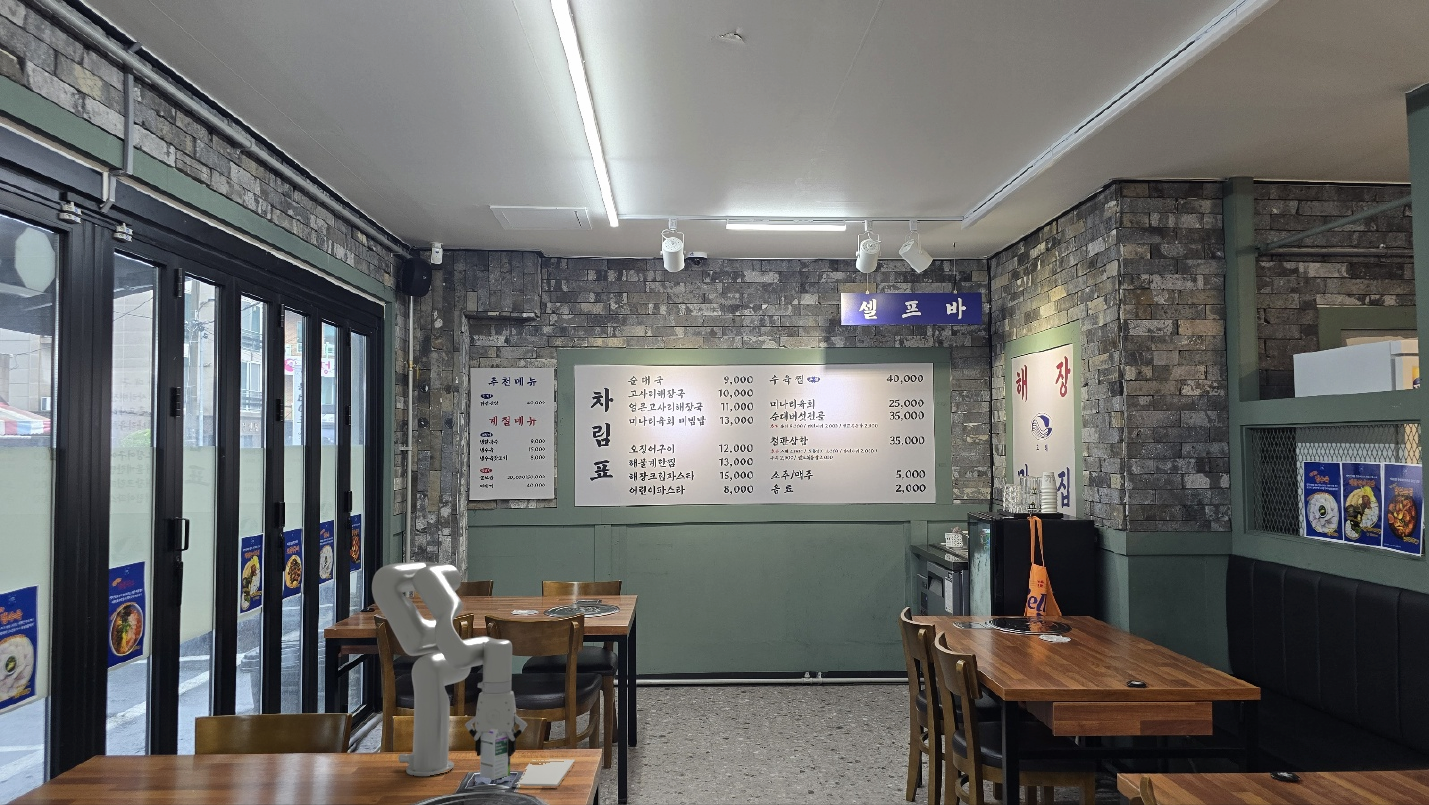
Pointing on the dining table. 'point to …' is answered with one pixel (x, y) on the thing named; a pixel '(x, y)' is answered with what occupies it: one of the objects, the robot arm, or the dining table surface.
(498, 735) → the syrup box
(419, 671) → the robot arm
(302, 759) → the dining table surface
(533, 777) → the cutting board
